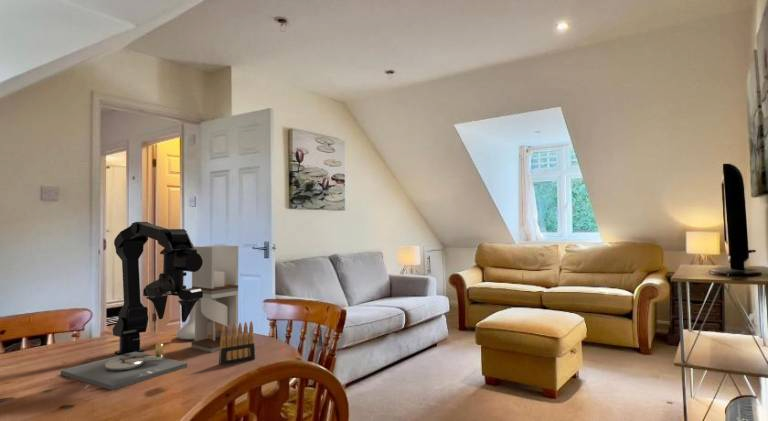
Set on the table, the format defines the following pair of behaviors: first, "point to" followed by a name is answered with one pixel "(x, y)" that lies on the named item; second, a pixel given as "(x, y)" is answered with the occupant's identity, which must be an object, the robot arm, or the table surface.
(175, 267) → the robot arm
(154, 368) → the stand base
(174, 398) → the table surface
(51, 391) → the table surface
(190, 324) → the flower in vase
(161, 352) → the disc crank with handle
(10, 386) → the table surface
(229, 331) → the ammunition clip
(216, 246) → the display case
